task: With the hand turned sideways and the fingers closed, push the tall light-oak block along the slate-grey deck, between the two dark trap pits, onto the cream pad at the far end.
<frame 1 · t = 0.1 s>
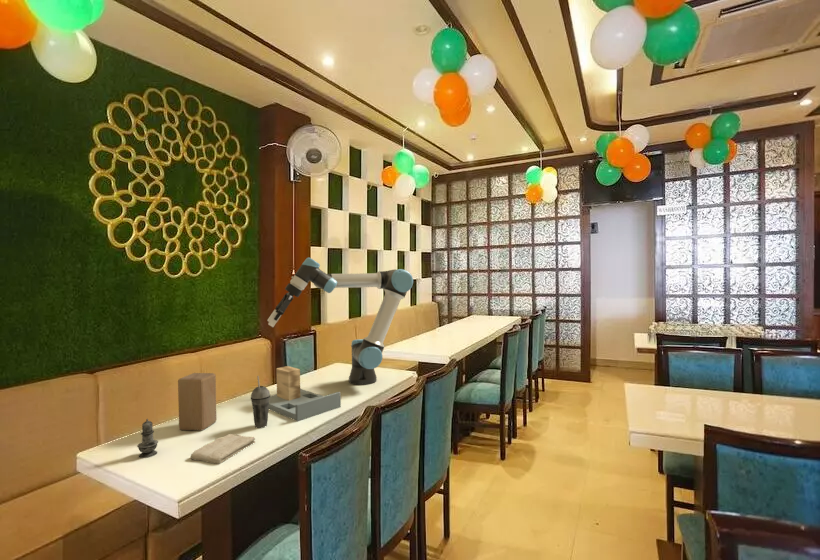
hand: (269, 323, 192), 36 cm above the table, tool tilted 35°, fingers open, 13 cm apart
washcloth: (225, 452, 137), on the table
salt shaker: (148, 455, 135), on the table
beverage cup: (261, 426, 159), on the table
oak block: (288, 396, 187), point 2 cm above the table, touching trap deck
block: (198, 426, 159), on the table
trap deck: (298, 405, 182), on the table
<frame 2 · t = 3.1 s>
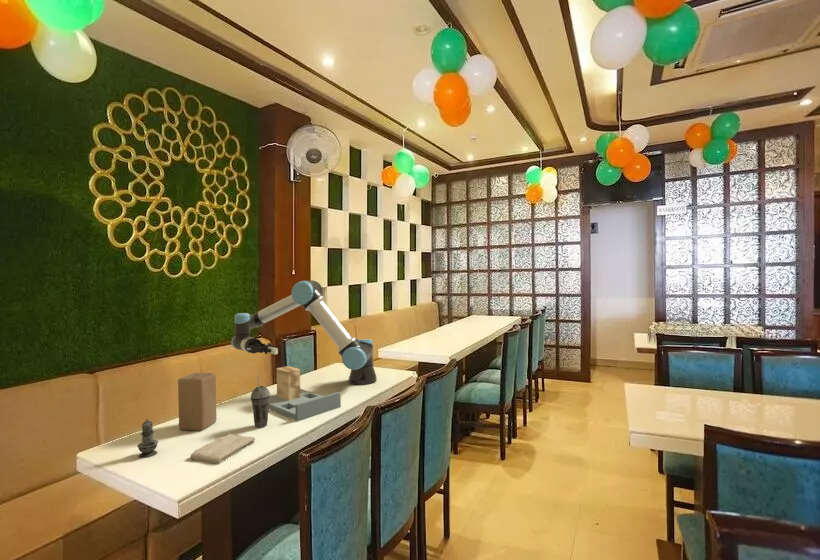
hand: (276, 351, 193), 22 cm above the table, tool horizontal, fingers closed
nothing on the table moved.
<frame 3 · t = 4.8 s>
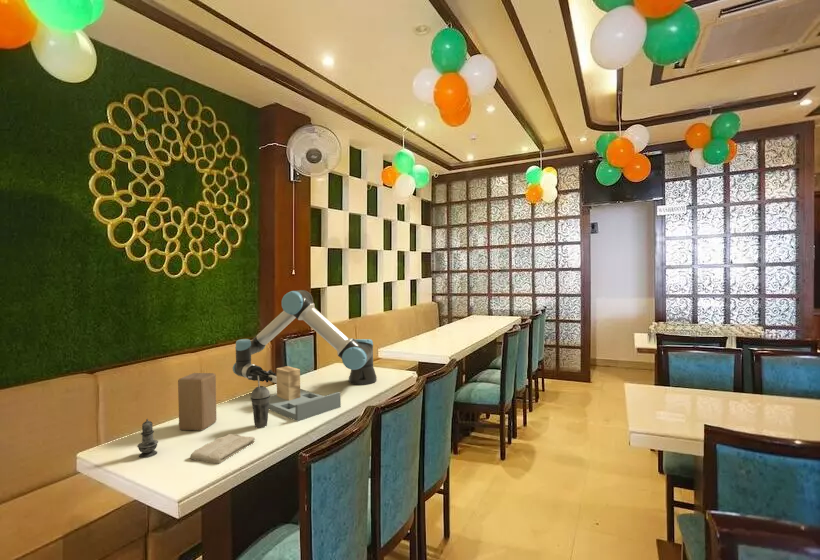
hand: (277, 380, 193), 9 cm above the table, tool horizontal, fingers closed
nothing on the table moved.
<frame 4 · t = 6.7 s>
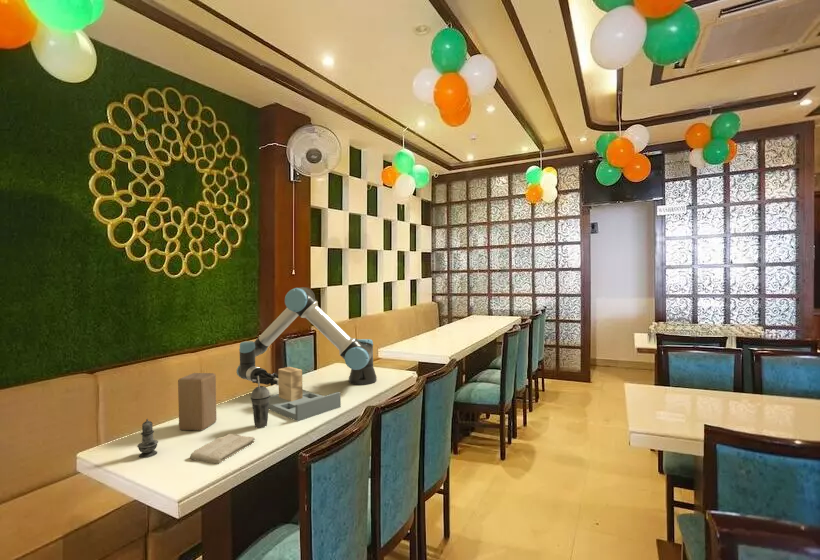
hand: (282, 383, 189), 8 cm above the table, tool horizontal, fingers closed
oak block: (290, 397, 186), point 3 cm above the table
everything else where it was.
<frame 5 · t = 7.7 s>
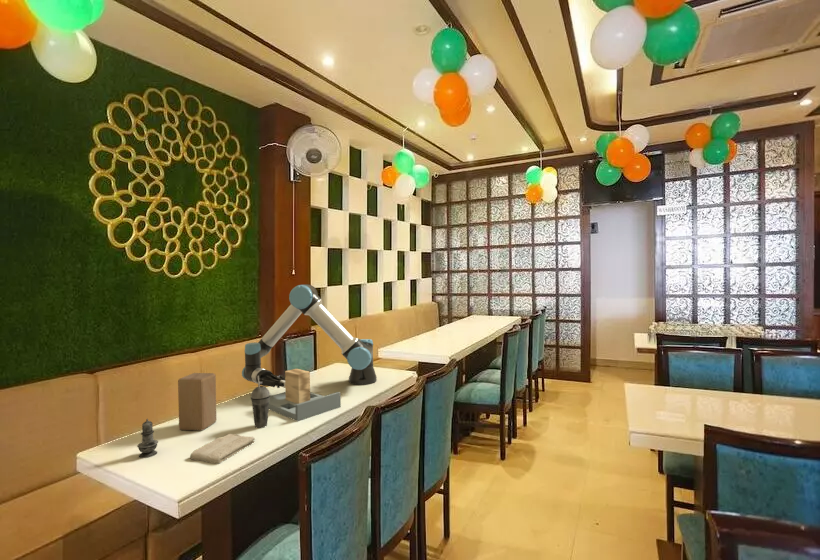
hand: (289, 385, 185), 8 cm above the table, tool horizontal, fingers closed
oak block: (297, 400, 182), point 3 cm above the table, touching gripper
everything else where it was.
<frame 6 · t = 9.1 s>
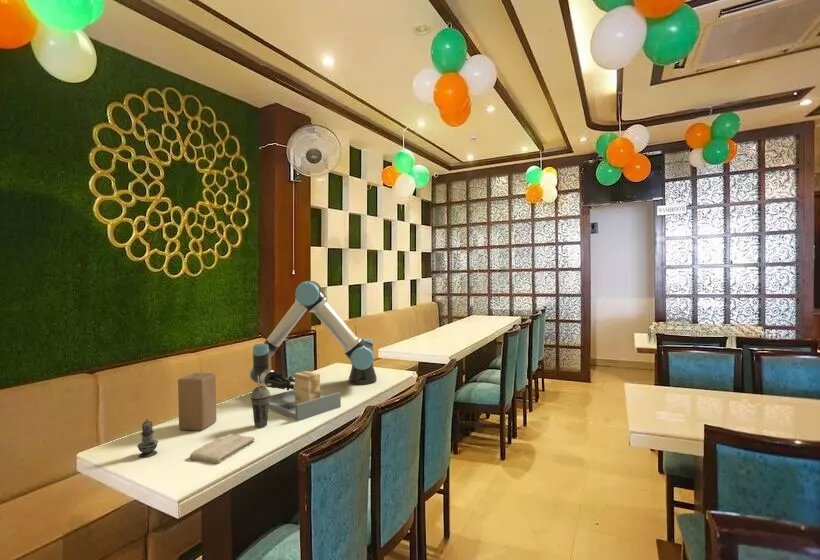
hand: (299, 387, 181), 8 cm above the table, tool horizontal, fingers closed
oak block: (307, 403, 178), point 3 cm above the table, touching gripper
everything else where it was.
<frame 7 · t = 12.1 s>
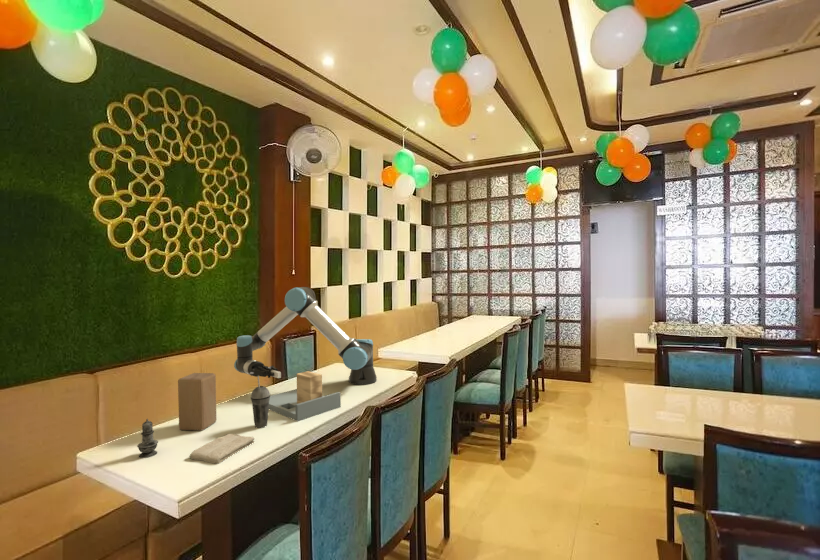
hand: (279, 375, 192), 11 cm above the table, tool horizontal, fingers closed
oak block: (309, 403, 177), point 2 cm above the table, touching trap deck
everything else where it was.
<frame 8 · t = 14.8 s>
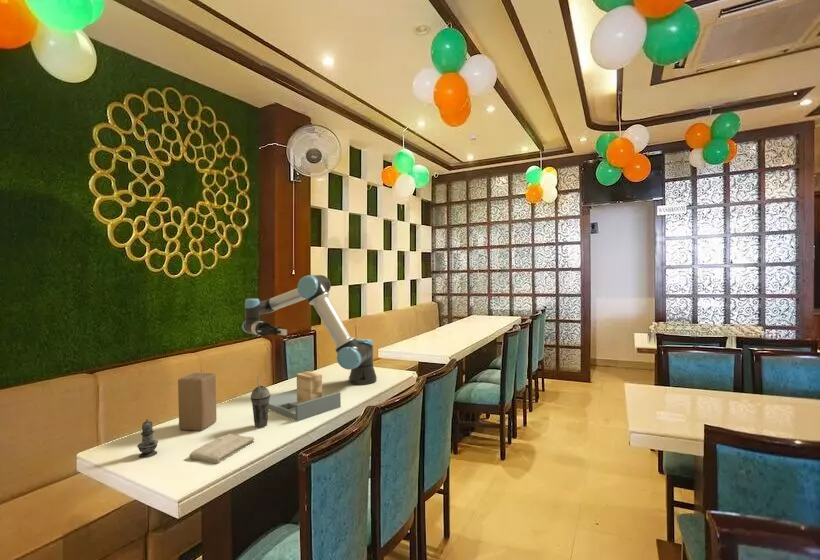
hand: (285, 332, 202), 30 cm above the table, tool horizontal, fingers closed
nothing on the table moved.
at the end: oak block inside the target area (1.4 cm from its centre), point 2.5 cm above the table; oak block tilted 0° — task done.
